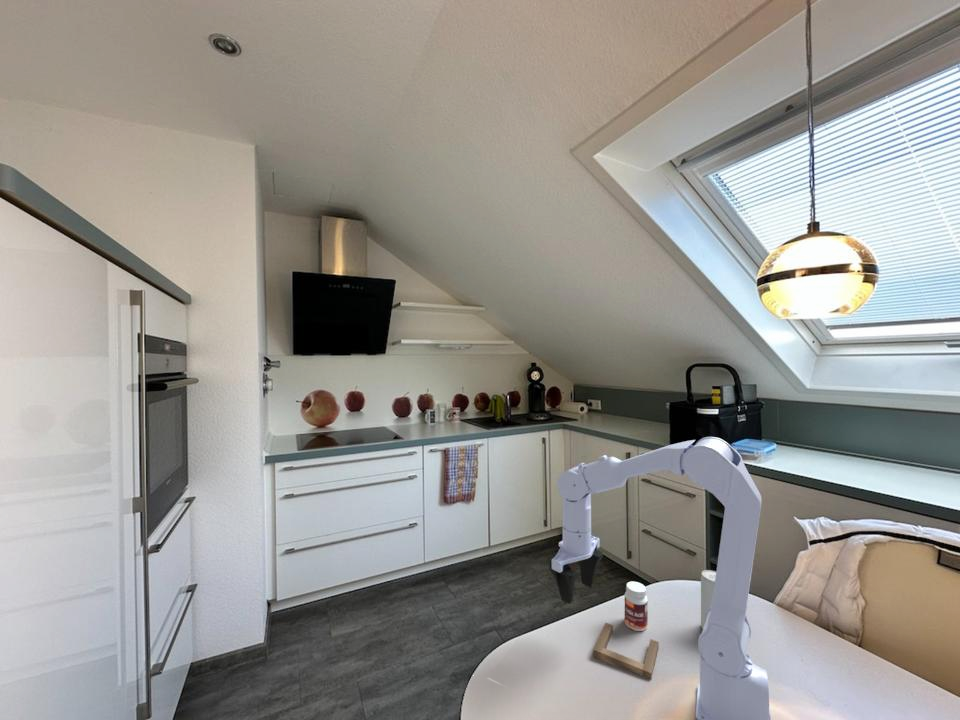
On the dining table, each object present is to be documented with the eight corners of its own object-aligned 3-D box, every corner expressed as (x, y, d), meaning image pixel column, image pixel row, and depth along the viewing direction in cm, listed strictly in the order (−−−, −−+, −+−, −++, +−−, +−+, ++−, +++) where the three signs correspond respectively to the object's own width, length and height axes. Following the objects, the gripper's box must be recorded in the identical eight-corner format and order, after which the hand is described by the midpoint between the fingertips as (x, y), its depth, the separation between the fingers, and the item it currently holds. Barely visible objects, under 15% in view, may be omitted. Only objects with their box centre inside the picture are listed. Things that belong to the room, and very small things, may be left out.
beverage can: (731, 641, 79) (731, 583, 79) (705, 638, 80) (705, 581, 80) (721, 625, 84) (721, 570, 83) (697, 622, 85) (697, 568, 84)
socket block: (658, 649, 77) (658, 641, 77) (651, 681, 69) (651, 673, 69) (605, 629, 82) (605, 622, 82) (593, 657, 75) (593, 649, 75)
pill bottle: (622, 627, 83) (622, 588, 83) (626, 614, 87) (626, 577, 87) (646, 635, 81) (646, 595, 81) (649, 621, 85) (649, 584, 85)
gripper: (579, 511, 86) (579, 571, 86) (539, 531, 76) (539, 599, 76) (608, 521, 81) (608, 584, 81) (568, 544, 71) (569, 616, 71)
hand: (577, 592), depth 78 cm, fingers open, 7 cm apart
